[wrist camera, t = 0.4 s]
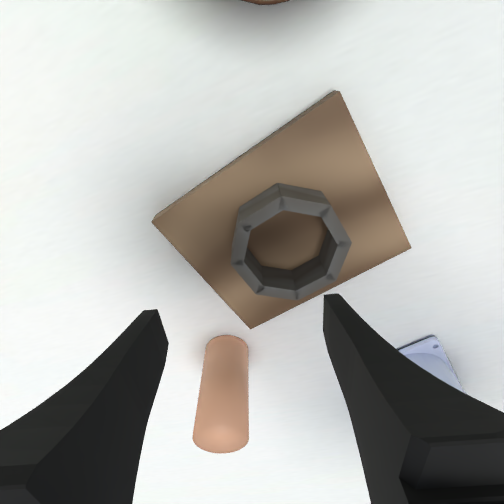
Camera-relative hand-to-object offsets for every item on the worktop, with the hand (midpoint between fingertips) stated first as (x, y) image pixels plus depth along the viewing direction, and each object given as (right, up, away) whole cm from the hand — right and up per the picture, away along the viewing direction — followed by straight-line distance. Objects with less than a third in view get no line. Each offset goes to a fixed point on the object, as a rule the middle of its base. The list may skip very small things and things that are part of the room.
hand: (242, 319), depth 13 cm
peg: (-2, -6, +15) cm, 17 cm away
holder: (+3, +5, +9) cm, 11 cm away
